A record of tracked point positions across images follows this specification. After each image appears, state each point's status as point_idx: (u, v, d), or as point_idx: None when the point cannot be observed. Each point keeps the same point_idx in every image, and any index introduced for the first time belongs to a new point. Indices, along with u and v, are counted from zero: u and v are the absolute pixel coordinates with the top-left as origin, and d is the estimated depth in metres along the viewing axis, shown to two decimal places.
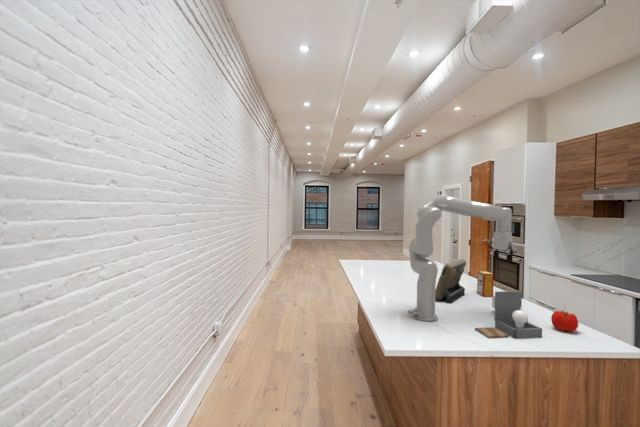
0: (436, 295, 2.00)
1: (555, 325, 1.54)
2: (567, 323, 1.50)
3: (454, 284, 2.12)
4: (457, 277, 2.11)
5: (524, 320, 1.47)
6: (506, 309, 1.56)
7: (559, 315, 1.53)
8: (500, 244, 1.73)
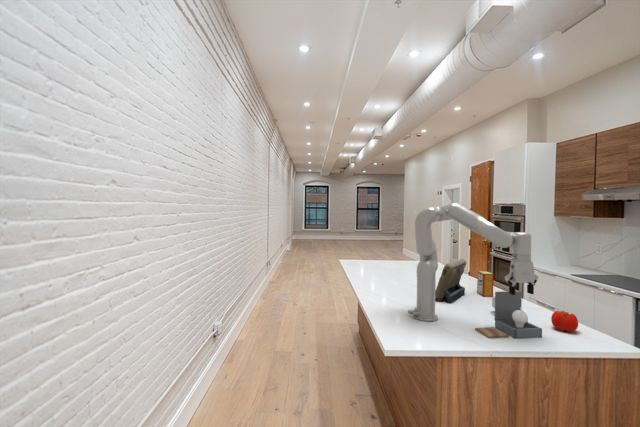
0: (436, 295, 2.00)
1: (555, 325, 1.54)
2: (567, 323, 1.50)
3: (454, 284, 2.11)
4: (457, 277, 2.11)
5: (524, 320, 1.47)
6: (506, 309, 1.56)
7: (559, 315, 1.53)
8: (528, 276, 1.47)
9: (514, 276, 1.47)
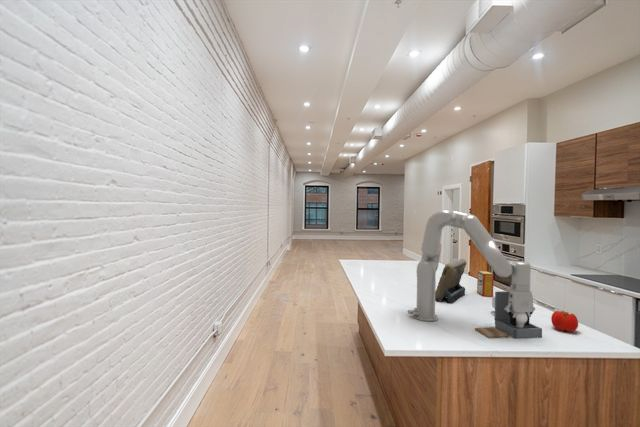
0: (437, 295, 2.00)
1: (555, 325, 1.54)
2: (567, 323, 1.50)
3: (455, 284, 2.11)
4: (458, 277, 2.11)
5: (524, 320, 1.47)
6: None
7: (559, 315, 1.53)
8: (527, 306, 1.47)
9: (513, 306, 1.47)
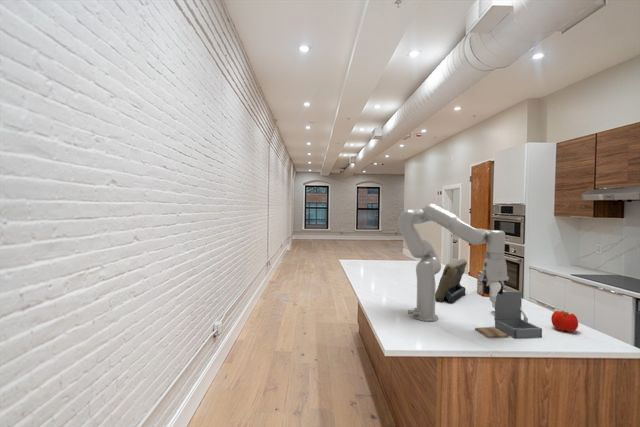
0: (437, 295, 1.99)
1: (555, 325, 1.54)
2: (567, 323, 1.50)
3: (455, 284, 2.11)
4: (458, 277, 2.11)
5: (497, 288, 1.46)
6: (506, 309, 1.56)
7: (559, 315, 1.53)
8: (500, 274, 1.46)
9: (486, 274, 1.46)
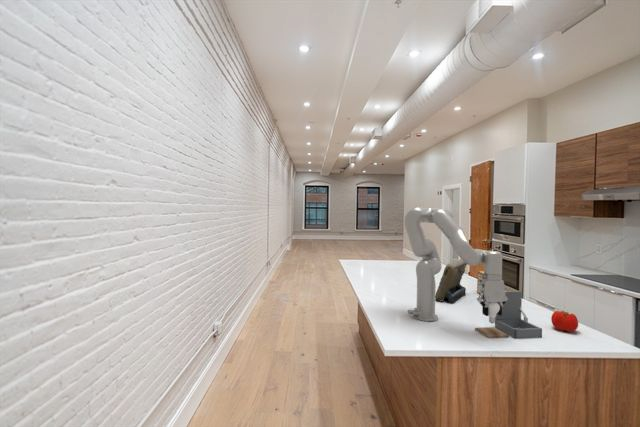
0: (438, 296, 1.99)
1: (555, 325, 1.54)
2: (567, 323, 1.50)
3: (455, 284, 2.11)
4: (458, 277, 2.11)
5: (496, 309, 1.45)
6: (506, 309, 1.56)
7: (559, 315, 1.53)
8: (499, 295, 1.46)
9: (484, 295, 1.46)
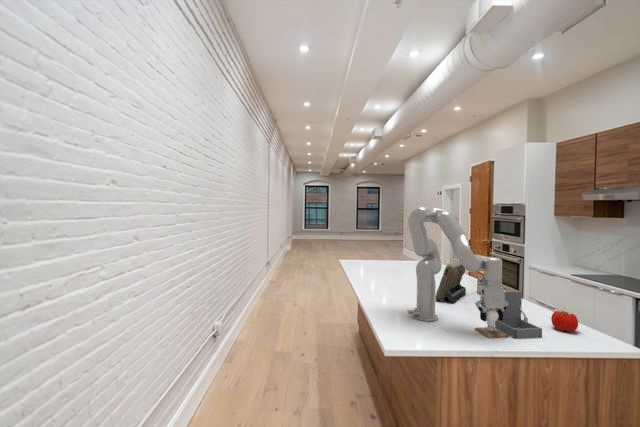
0: (438, 296, 1.99)
1: (555, 325, 1.54)
2: (567, 323, 1.50)
3: (455, 284, 2.11)
4: (458, 277, 2.11)
5: (495, 318, 1.46)
6: (506, 309, 1.56)
7: (559, 315, 1.53)
8: (498, 302, 1.46)
9: (484, 302, 1.46)
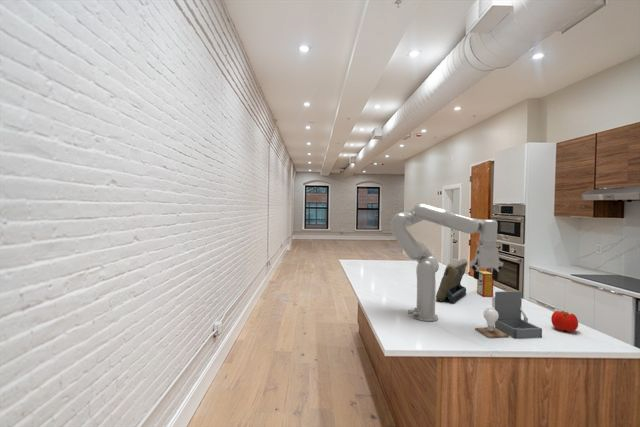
0: (439, 296, 1.99)
1: (555, 325, 1.54)
2: (567, 323, 1.50)
3: (456, 284, 2.11)
4: (459, 277, 2.11)
5: (495, 318, 1.46)
6: (506, 309, 1.56)
7: (559, 315, 1.53)
8: (492, 262, 1.52)
9: (478, 261, 1.52)
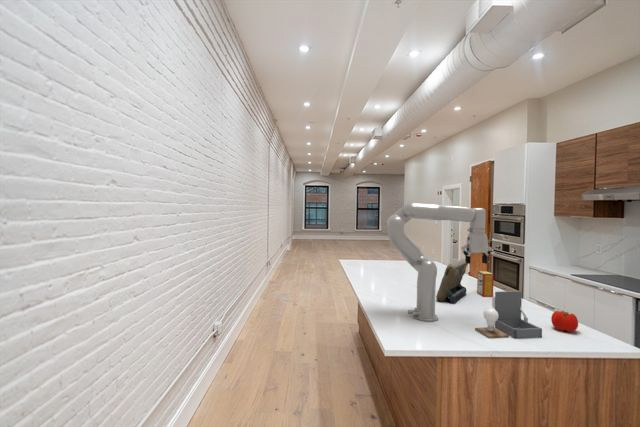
0: (439, 296, 1.98)
1: (555, 325, 1.54)
2: (567, 323, 1.50)
3: (456, 284, 2.11)
4: (459, 277, 2.11)
5: (495, 318, 1.46)
6: (506, 309, 1.56)
7: (559, 315, 1.53)
8: (482, 247, 1.64)
9: (469, 247, 1.64)
